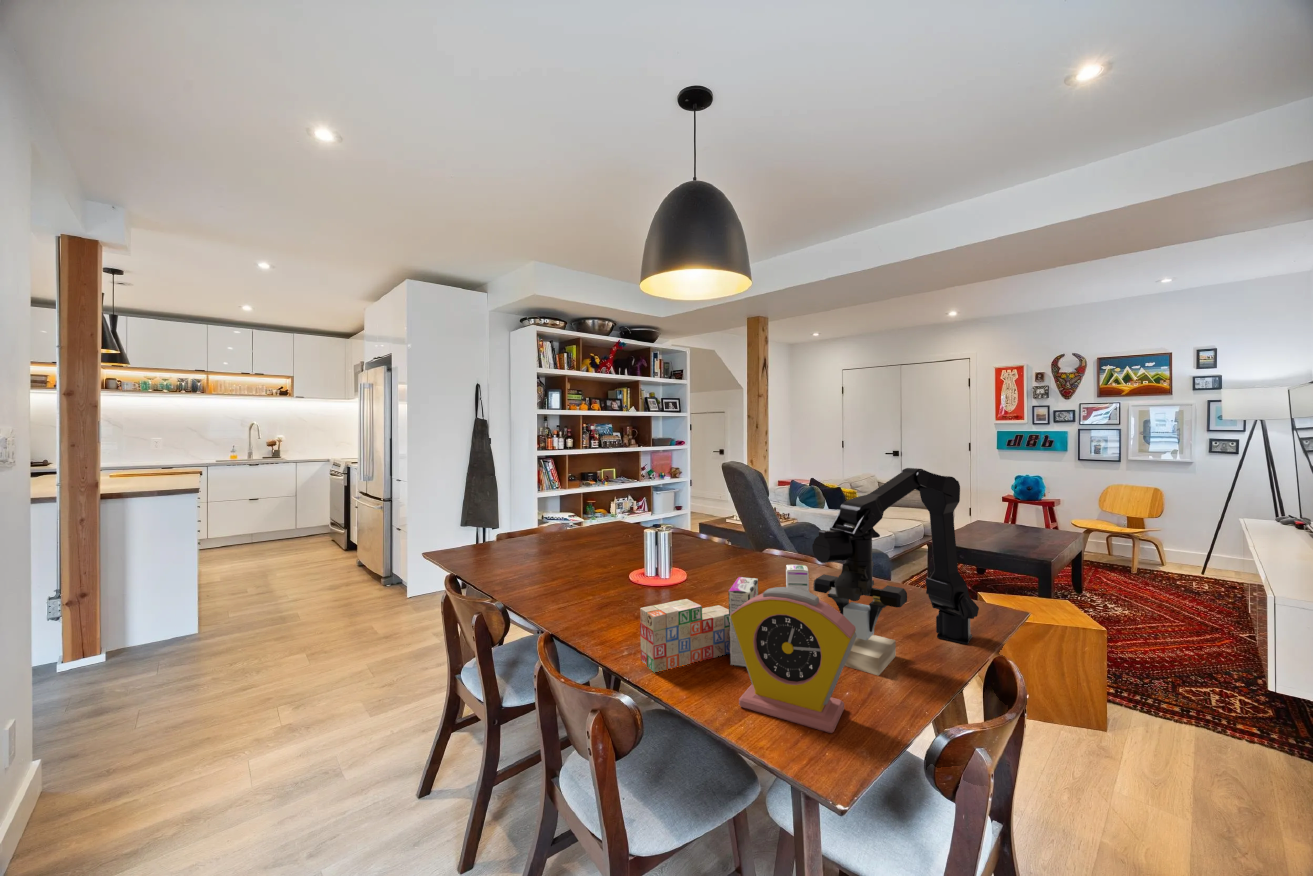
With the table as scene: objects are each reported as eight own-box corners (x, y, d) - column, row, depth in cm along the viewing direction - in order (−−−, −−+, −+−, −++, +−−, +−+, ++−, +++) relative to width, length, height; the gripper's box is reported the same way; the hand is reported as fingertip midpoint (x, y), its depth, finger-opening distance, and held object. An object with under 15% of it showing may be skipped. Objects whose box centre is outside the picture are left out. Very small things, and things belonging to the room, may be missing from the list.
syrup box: (810, 626, 131) (810, 570, 131) (786, 624, 132) (786, 569, 132) (808, 618, 136) (808, 564, 136) (785, 617, 137) (785, 563, 137)
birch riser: (895, 658, 113) (895, 640, 112) (878, 677, 103) (878, 658, 103) (841, 643, 120) (841, 627, 120) (821, 661, 111) (821, 643, 111)
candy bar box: (738, 645, 119) (737, 576, 119) (759, 648, 117) (759, 578, 117) (728, 665, 108) (727, 589, 108) (751, 669, 107) (750, 592, 107)
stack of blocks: (719, 643, 120) (719, 592, 120) (736, 653, 115) (735, 599, 115) (640, 663, 110) (639, 606, 110) (653, 674, 105) (653, 615, 105)
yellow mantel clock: (724, 703, 93) (724, 587, 93) (743, 682, 101) (742, 575, 101) (850, 740, 82) (849, 607, 81) (860, 713, 89) (859, 592, 89)
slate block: (874, 633, 112) (873, 606, 112) (866, 640, 108) (866, 612, 108) (851, 628, 115) (851, 601, 115) (843, 634, 112) (843, 607, 112)
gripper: (802, 558, 112) (803, 629, 112) (892, 573, 100) (892, 651, 100) (822, 550, 120) (823, 615, 120) (907, 562, 108) (908, 634, 108)
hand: (858, 628), depth 112 cm, fingers closed on slate block, 5 cm apart
